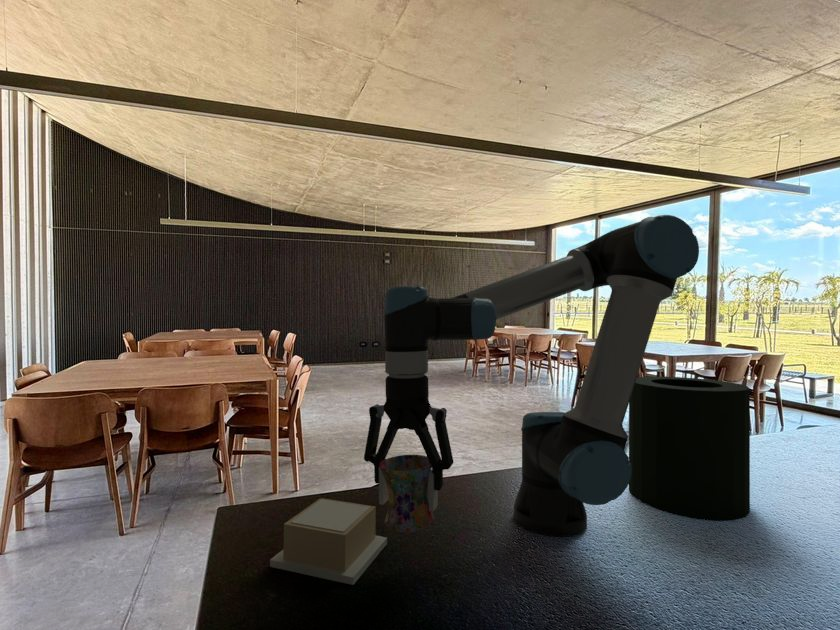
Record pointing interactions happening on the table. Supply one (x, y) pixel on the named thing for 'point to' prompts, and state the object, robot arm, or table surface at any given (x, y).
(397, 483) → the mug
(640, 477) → the flower pot
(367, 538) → the cream stepped pedestal
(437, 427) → the robot arm
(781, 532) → the table surface
